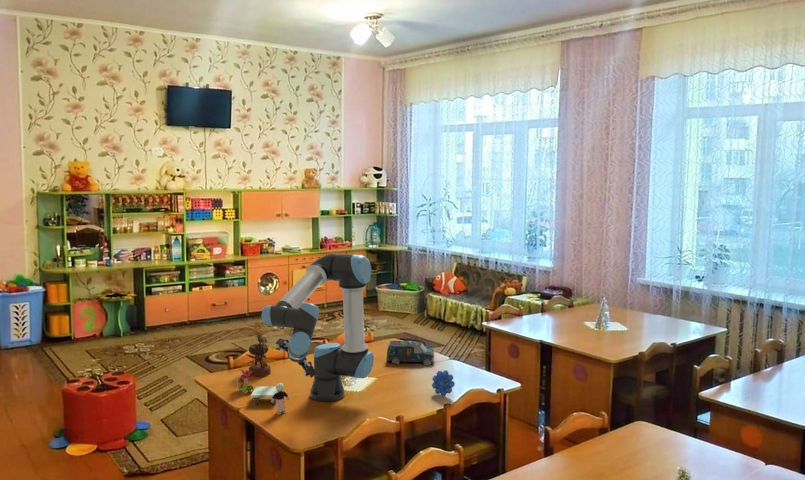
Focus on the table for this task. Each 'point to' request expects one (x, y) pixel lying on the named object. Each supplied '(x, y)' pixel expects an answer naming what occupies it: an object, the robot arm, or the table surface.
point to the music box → (259, 358)
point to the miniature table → (264, 393)
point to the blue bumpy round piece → (443, 383)
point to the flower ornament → (244, 382)
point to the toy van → (409, 352)
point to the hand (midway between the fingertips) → (294, 361)
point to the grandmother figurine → (280, 399)
